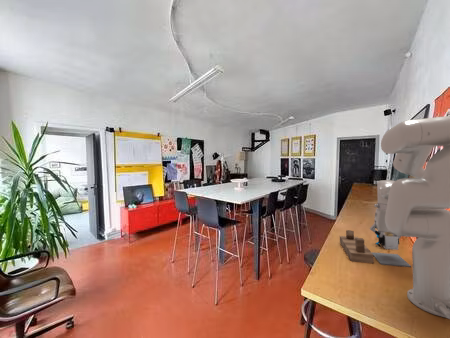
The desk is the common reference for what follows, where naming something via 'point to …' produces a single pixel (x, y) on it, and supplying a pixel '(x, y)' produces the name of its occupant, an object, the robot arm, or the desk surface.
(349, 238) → the brown stepped block
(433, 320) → the desk surface
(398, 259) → the mat
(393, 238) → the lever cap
